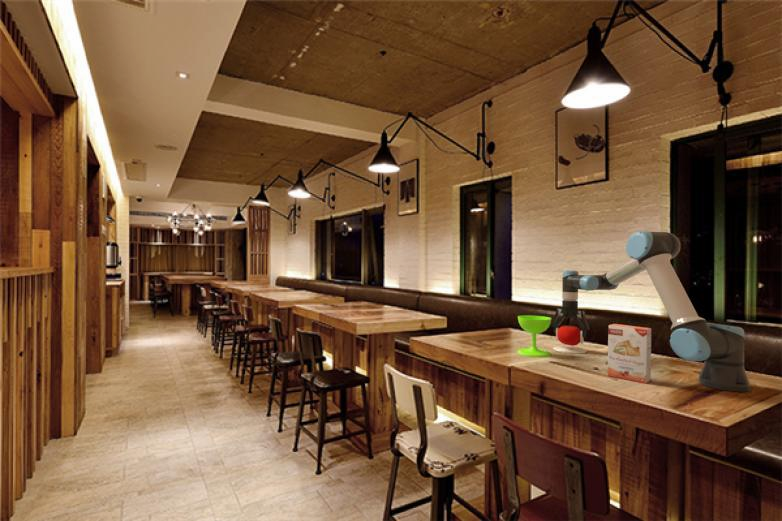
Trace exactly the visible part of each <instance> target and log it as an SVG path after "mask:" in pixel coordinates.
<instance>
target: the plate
mask: <svg viewBox="0 0 782 521" xmlns="http://www.w3.org/2000/svg"><path fill="white" fill-rule="evenodd" d="M552 350H553V351H555V352H558V353H563V354H572V355H581V354H586V353H587V349H586V348H583V347H579V346H571V345H555V346H552Z"/></svg>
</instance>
